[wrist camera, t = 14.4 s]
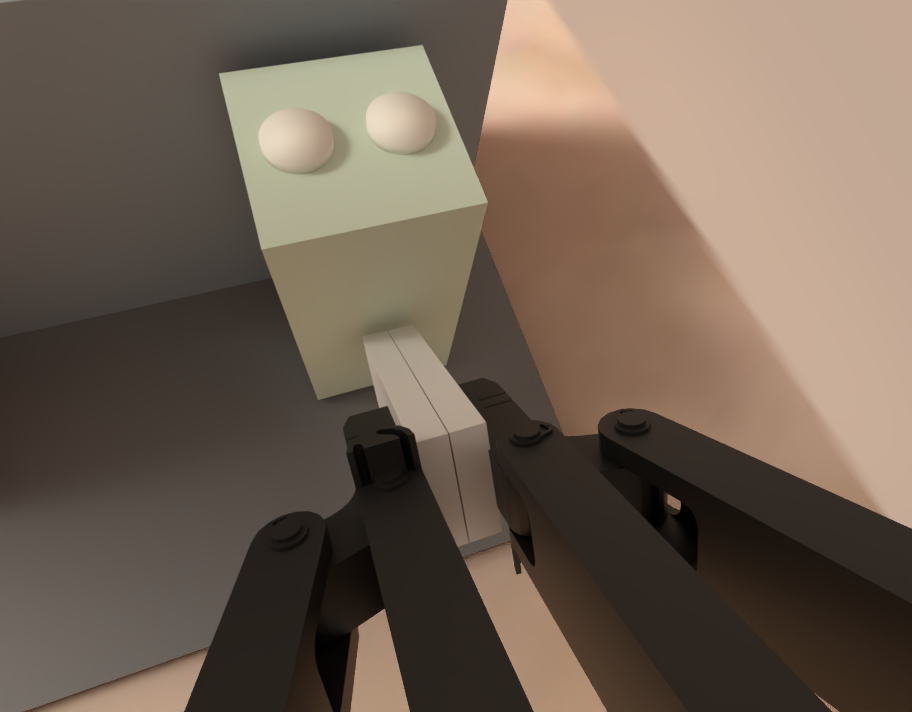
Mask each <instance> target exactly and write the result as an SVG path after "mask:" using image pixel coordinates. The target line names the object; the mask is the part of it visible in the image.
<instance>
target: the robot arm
mask: <svg viewBox="0 0 912 712" xmlns="http://www.w3.org/2000/svg"><path fill="white" fill-rule="evenodd" d="M362 339H363V343H364V347H365V351H366V355H367V360H368V364H369V368H370V372H371V376H372V380H373V385H374V389H375V393H376V397H377V401H378V405H379V408H378V409H374V410H370V411H367V412H363V413H360V414H356V415H352V416H349V417H348V419H347V421H346V423H345V425H344V427H343V432H344V436H345V441H346V445H347V451H346V455H347V459H348V462H349V466H350V470H351V473H352V477H353V480H354V484H355V488H356V490H355V492H354V495H353V497H352V498H351V500H350V501H349V502H348V503H347V504H346V505H345V506H344V507H343V508H342V509H340V510H339V511H337V512H336V513H334V514H333V515H331V516H329V517H327V518H326V519H323V518H322V517H321V516H320V515H319V514H317V513H314V512H310V511H296V512H292V513H289V514H285V515H282V516H280V517H278V518H276V519H274V520H272V521H271V522H269V523H267V524H266V525H265V526H264V527H263V528H262V529H260V530H259V531H258V532H257V534H256V535H255V537H254V538H253V540H252V542H251V544H250V546H249V549H248V551H247V554H246V557H245V559H244V562H243V564H242V567H241V569H240V572H239V574H238V577H237V579H236V582H235V584H234V587H233V590H232V592H231V595H230V597H229V600H228V602H227V605H226V607H225V610H224V612H223V615H222V617H221V620H220V622H219V625H218V628H217V630H216V633H215V635H214V638H213V640H212V643H211V645H210V648H209V650H208V653H207V655H206V658H205V661H204V663H203V666H202V668H201V671H200V673H199V676H198V678H197V681H196V683H195V686H194V688H193V691H192V693H191V696H190V699H189V701H188V704H187V706H186V709H185V711H184V712H350V709H351V701H352V692H353V684H354V675H355V666H356V658H357V649H358V640H359V633H358V626H359V625H361V624H362V623H364V622H365V621H367V620H368V619H370V618H371V617H373V616H374V615H376V614H377V613H378V612H380V611H381V610H383V609H384V608H385V611H386V615H387V619H388V623H389V627H390V631H391V635H392V639H393V643H394V648H395V652H396V656H397V660H398V664H399V668H400V672H401V676H402V680H403V685H404V689H405V693H406V697H407V701H408V705H409V709H410V712H533V710H532V707H531V705H530V703H529V701H528V699H527V697H526V694H525V692H524V690H523V688H522V686H521V683H520V681H519V679H518V677H517V675H516V673H515V670H514V668H513V666H512V664H511V662H510V660H509V657H508V655H507V653H506V651H505V649H504V646H503V644H502V642H501V640H500V638H499V636H498V633H497V631H496V629H495V627H494V625H493V623H492V620H491V618H490V616H489V614H488V612H487V609H486V607H485V605H484V603H483V601H482V599H481V596H480V594H479V592H478V590H477V588H476V586H475V583H474V581H473V579H472V577H471V575H470V572H469V570H468V568H467V566H466V564H465V562H464V559H463V557H462V555H461V553H460V551H459V549H458V547H459V546H461V545H464V544H467V543H469V542H470V543H471V542H474V541H476V540H479V539H482V538H485V537H488V536H491V535H494V534H497V533H500V532H503V528H502V522H501V515H500V512H501V514H502V516H503V517H504V519H505V520H506V522H507V524H508V527H509V533H510V540H511V547H512V553H513V560H514V567H515V570H516V574H520V573H521V566H520V563H521V562H522V564H523V566H524V568H525V569H526V571H527V573H528V575H529V576H530V578H531V580H532V581H533V583H534V585H535V587H536V588H537V590H538V592H539V594H540V595H541V597H542V599H543V601H544V602H545V604H546V606H547V607H548V609H549V611H550V613H551V614H552V616H553V618H554V620H555V621H556V623H557V625H558V627H559V628H560V630H561V632H562V633H563V635H564V637H565V639H566V640H567V642H568V644H569V646H570V647H571V649H572V651H573V653H574V654H575V656H576V658H577V659H578V661H579V663H580V665H581V666H582V668H583V670H584V672H585V673H586V675H587V677H588V679H589V680H590V682H591V684H592V686H593V687H594V689H595V691H596V692H597V694H598V696H599V698H600V699H601V701H602V703H603V705H604V706H605V708H606V710H607V712H832V711H831V710H830V709H829V708H828V707H827V706H826V705H825V704H824V703H823V702H822V701H821V700H820V699H819V698H818V697H817V696H816V695H815V694H817V695H818V696H819V697H821V698H822V699H823V700H825V701H826V702H827V703H829V704H830V705H831V706H833V707H834V708H835V709H837V710H838V711H839V712H912V529H911V528H908V527H906V526H904V525H902V524H900V523H897V522H895V521H893V520H891V519H889V518H887V517H884V516H882V515H880V514H878V513H875V512H873V511H871V510H869V509H867V508H864V507H862V506H860V505H858V504H856V503H853V502H851V501H849V500H847V499H844V498H842V497H840V496H838V495H836V494H833V493H831V492H829V491H827V490H825V489H822V488H820V487H818V486H816V485H813V484H811V483H809V482H807V481H805V480H802V479H800V478H798V477H796V476H793V475H791V474H789V473H787V472H785V471H782V470H780V469H778V468H776V467H774V466H771V465H769V464H767V463H765V462H762V461H760V460H758V459H756V458H754V457H751V456H749V455H747V454H745V453H743V452H740V451H738V450H736V449H734V448H731V447H729V446H727V445H725V444H723V443H720V442H718V441H716V440H714V439H712V438H709V437H707V436H705V435H703V434H700V433H698V432H696V431H694V430H692V429H689V428H687V427H685V426H683V425H680V424H678V423H676V422H674V421H672V420H669V419H667V418H665V417H663V416H661V415H658V414H656V413H653V412H650V411H647V410H642V409H633V408H627V409H621V410H617V411H614V412H611V413H608V414H607V415H605V416H604V417H603V418H601V420H600V422H599V424H598V433H599V434H593V435H584V436H564V435H563V434H562V433H561V432H560V431H559V429H558V428H556V427H555V426H553V425H552V424H550V423H547V422H544V421H540V420H531V419H530V418H529V417H528V416H527V415H526V413H525V412H524V411H523V410H522V409H521V408H520V407H519V406H518V405H517V404H516V403H515V402H514V401H513V400H512V398H511V397H510V396H509V395H508V394H506V392H505V391H504V390H503V389H502V387H501V386H500V385H499V384H498V383H496V382H493V381H491V380H488V379H485V378H480V379H476V380H473V381H469V382H466V383H462V384H457V383H456V382H455V380H454V379H453V378H452V376H451V375H450V374H449V372H448V371H447V370H446V368H445V367H444V366H443V364H442V363H441V362H440V360H439V359H438V358H437V356H436V355H435V354H434V352H433V351H432V350H431V348H430V347H429V346H428V344H427V343H426V342H425V340H424V339H423V338H422V337H421V335H420V334H419V333H418V331H417V330H416V329H415V327H414V326H413V325H408V326H404V327H400V328H396V329H392V330H388V331H384V332H380V333H376V334H372V335H368V336H364V337H362ZM667 493H668V494H669V495H671V496H673V497H674V498H676V499H678V500H680V501H681V509H680V510H678V509H675V508H673V507H672V506H670V505H668V504H667ZM468 540H469V542H468ZM813 692H814V693H815V694H814V693H813Z"/></svg>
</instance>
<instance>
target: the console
mask: <svg viewBox="0 0 912 712" xmlns="http://www.w3.org/2000/svg"><path fill="white" fill-rule="evenodd" d="M506 5H507V0H0V712H25V711H28V710H30V709H33V708H36V707H39V706H42V705H45V704H47V703H50V702H53V701H56V700H59V699H62V698H65V697H67V696H70V695H73V694H76V693H79V692H82V691H84V690H87V689H90V688H93V687H96V686H99V685H102V684H104V683H107V682H110V681H113V680H116V679H119V678H121V677H124V676H127V675H130V674H133V673H136V672H138V671H141V670H144V669H147V668H150V667H153V666H156V665H158V664H161V663H164V662H167V661H170V660H173V659H175V658H178V657H181V656H184V655H187V654H190V653H193V652H195V651H198V650H201V649H204V648H207V647H210V645H211V643H212V640H213V638H214V635H215V633H216V630H217V628H218V625H219V622H220V620H221V617H222V615H223V612H224V610H225V607H226V605H227V602H228V600H229V597H230V595H231V592H232V590H233V587H234V584H235V582H236V579H237V577H238V574H239V572H240V569H241V567H242V564H243V562H244V559H245V557H246V554H247V551H248V549H249V546H250V544H251V542H252V540H253V538H254V537H255V535H256V534H257V532H258V531H259V530H260V529H262V528H263V527H264V526H265V525H266V524H267V523H269V522H271V521H272V520H274V519H276V518H278V517H280V516H282V515H285V514H289V513H292V512H296V511H310V512H314V513H317V514H319V515H320V516H321V517H322V518H323V519H326V518H327V517H329V516H331V515H333V514H334V513H336V512H337V511H339V510H340V509H342V508H343V507H344V506H345V505H346V504H347V503H348V502H349V501H350V500H351V498H352V497H353V495H354V492H355V490H356V488H355V484H354V480H353V477H352V473H351V470H350V466H349V462H348V459H347V455H346V451H347V445H346V441H345V436H344V432H343V427H344V425H345V423H346V421H347V419H348V417H349V416H352V415H356V414H360V413H363V412H367V411H370V410H374V409H378V408H379V405H378V401H377V397H376V393H375V389H374V385H372V386H368V387H364V388H361V389H357V390H353V391H350V392H346V393H342V394H339V395H335V396H331V397H328V398H324V399H320V400H318V399H317V396H316V393H315V391H314V388H313V385H312V383H311V380H310V378H309V375H308V372H307V370H306V367H305V364H304V362H303V359H302V356H301V354H300V351H299V348H298V346H297V343H296V340H295V338H294V335H293V332H292V330H291V327H290V324H289V322H288V319H287V316H286V314H285V311H284V308H283V306H282V303H281V300H280V298H279V295H278V292H277V290H276V287H275V284H274V282H273V279H272V276H271V274H270V271H269V268H268V266H267V263H266V260H265V258H264V255H263V252H262V250H261V246H260V242H259V238H258V233H257V229H256V225H255V221H254V217H253V213H252V209H251V205H250V200H249V196H248V192H247V188H246V184H245V180H244V176H243V171H242V167H241V163H240V159H239V155H238V151H237V147H236V143H235V138H234V134H233V130H232V126H231V122H230V118H229V114H228V110H227V105H226V101H225V97H224V93H223V89H222V85H221V81H220V77H219V73H226V72H233V71H240V70H247V69H254V68H261V67H269V66H276V65H283V64H290V63H297V62H304V61H312V60H319V59H326V58H333V57H340V56H347V55H355V54H362V53H369V52H376V51H383V50H390V49H398V48H405V47H412V46H419V45H423V48H424V50H425V52H426V55H427V57H428V60H429V62H430V64H431V67H432V69H433V72H434V74H435V76H436V79H437V81H438V84H439V86H440V88H441V91H442V93H443V95H444V98H445V100H446V103H447V105H448V107H449V110H450V112H451V115H452V117H453V119H454V122H455V124H456V127H457V129H458V131H459V134H460V136H461V139H462V141H463V143H464V146H465V148H466V151H467V153H468V155H469V158H470V160H471V163H472V165H473V167H474V164H475V159H476V154H477V149H478V144H479V139H480V134H481V129H482V124H483V119H484V114H485V109H486V104H487V100H488V95H489V90H490V85H491V80H492V75H493V70H494V65H495V60H496V55H497V50H498V45H499V40H500V35H501V30H502V25H503V20H504V15H505V10H506ZM444 367H445V368H446V370H447V371H448V372H449V374H450V375H451V376H452V378H453V379H454V380H455V382H456V383H457V384H462V383H466V382H469V381H473V380H476V379H480V378H485V379H488V380H491V381H493V382H496V383H498V384H499V385H500V386H501V387H502V389H503V390H504V391H505V392H506V394H508V395H509V396H510V397H511V398H512V400H513V401H514V402H515V403H516V404H517V405H518V406H519V407H520V408H521V409H522V410H523V411H524V412H525V413H526V415H527V416H528V417H529V418H530V419H531V420H540V421H544V422H547V423H550V424H552V425H553V426H555V427H556V428H558V429H559V431H560V432H561V433H562V430H561V428H560V425H559V423H558V420H557V418H556V415H555V413H554V410H553V408H552V405H551V403H550V401H549V398H548V396H547V393H546V391H545V388H544V386H543V383H542V381H541V378H540V376H539V373H538V371H537V368H536V366H535V363H534V361H533V358H532V356H531V353H530V351H529V349H528V346H527V344H526V341H525V339H524V336H523V334H522V331H521V329H520V326H519V324H518V321H517V319H516V316H515V314H514V311H513V309H512V306H511V304H510V301H509V299H508V297H507V294H506V292H505V289H504V287H503V284H502V282H501V279H500V277H499V274H498V272H497V269H496V267H495V264H494V262H493V259H492V257H491V254H490V252H489V249H488V247H487V245H486V242H485V240H484V237H483V235H482V232H480V236H479V240H478V244H477V248H476V252H475V256H474V260H473V264H472V268H471V272H470V275H469V279H468V283H467V287H466V291H465V295H464V299H463V303H462V307H461V311H460V315H459V318H458V322H457V326H456V330H455V334H454V338H453V342H452V346H451V350H450V354H449V358H448V361H447V365H446V366H444ZM562 434H563V433H562ZM500 515H501V522H502V528H503V532H500V533H497V534H494V535H491V536H488V537H485V538H482V539H479V540H476V541H474V542H471V543H470V542H469V540H468V542H469V543H467V544H464V545H461V546H459V547H458V549H459V551H460V553H461V555H462V557H466V556H468V555H471V554H474V553H477V552H480V551H483V550H486V549H488V548H491V547H494V546H497V545H500V544H503V543H505V542H508V541H511V540H510V533H509V527H508V524H507V522H506V520H505V519H504V517H503V516H502V514H501V512H500Z"/></svg>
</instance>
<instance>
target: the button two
mask: <svg viewBox="0 0 912 712" xmlns="http://www.w3.org/2000/svg"><path fill="white" fill-rule="evenodd" d="M219 77H220V81H221V85H222V89H223V93H224V97H225V101H226V105H227V110H228V114H229V118H230V122H231V126H232V130H233V134H234V138H235V143H236V147H237V151H238V155H239V159H240V163H241V167H242V171H243V176H244V180H245V184H246V188H247V192H248V196H249V200H250V205H251V209H252V213H253V217H254V221H255V225H256V229H257V233H258V238H259V242H260V246H261V250H262V252H263V255H264V258H265V260H266V263H267V266H268V268H269V271H270V274H271V276H272V279H273V282H274V284H275V287H276V290H277V292H278V295H279V298H280V300H281V303H282V306H283V308H284V311H285V314H286V316H287V319H288V322H289V324H290V327H291V330H292V332H293V335H294V338H295V340H296V343H297V346H298V348H299V351H300V354H301V356H302V359H303V362H304V364H305V367H306V370H307V372H308V375H309V378H310V380H311V383H312V385H313V388H314V391H315V393H316V396H317V399H318V400H320V399H324V398H328V397H331V396H335V395H339V394H342V393H346V392H350V391H353V390H357V389H361V388H364V387H368V386H372V385H373V380H372V376H371V372H370V368H369V364H368V360H367V355H366V351H365V347H364V343H363V339H362V337H364V336H368V335H372V334H376V333H380V332H384V331H388V330H392V329H396V328H400V327H404V326H408V325H413V326H414V327H415V329H416V330H417V331H418V333H419V334H420V335H421V337H422V338H423V339H424V340H425V342H426V343H427V344H428V346H429V347H430V348H431V350H432V351H433V352H434V354H435V355H436V356H437V358H438V359H439V360H440V362H441V363H442V364H443V366H446V365H447V361H448V358H449V354H450V350H451V346H452V342H453V338H454V334H455V330H456V326H457V322H458V318H459V315H460V311H461V307H462V303H463V299H464V295H465V291H466V287H467V283H468V279H469V275H470V272H471V268H472V264H473V260H474V256H475V252H476V248H477V244H478V240H479V236H480V232H481V229H482V225H483V221H484V217H485V213H486V209H487V205H488V201H487V198H486V196H485V194H484V191H483V189H482V186H481V184H480V182H479V179H478V177H477V174H476V172H475V170H474V167H473V165H472V163H471V160H470V158H469V155H468V153H467V151H466V148H465V146H464V143H463V141H462V139H461V136H460V134H459V131H458V129H457V127H456V124H455V122H454V119H453V117H452V115H451V112H450V110H449V107H448V105H447V103H446V100H445V98H444V95H443V93H442V91H441V88H440V86H439V84H438V81H437V79H436V76H435V74H434V72H433V69H432V67H431V64H430V62H429V60H428V57H427V55H426V52H425V50H424V48H423V45H419V46H412V47H405V48H398V49H390V50H383V51H376V52H369V53H362V54H355V55H347V56H340V57H333V58H326V59H319V60H312V61H304V62H297V63H290V64H283V65H276V66H269V67H261V68H254V69H247V70H240V71H233V72H226V73H219Z"/></svg>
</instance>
